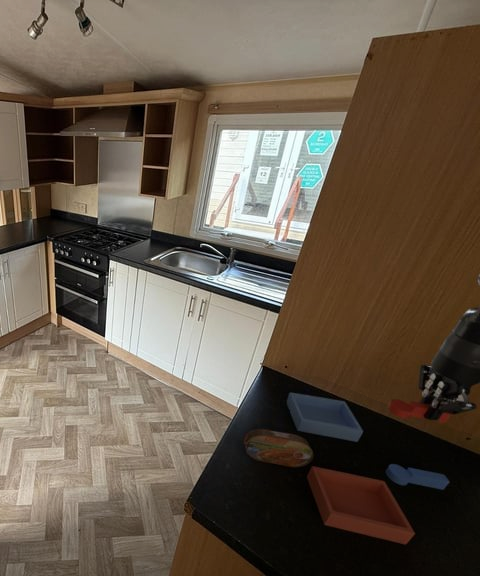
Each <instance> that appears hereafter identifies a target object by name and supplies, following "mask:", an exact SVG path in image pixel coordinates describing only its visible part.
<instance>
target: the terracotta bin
mask: <svg viewBox="0 0 480 576" xmlns="http://www.w3.org/2000/svg"><path fill="white" fill-rule="evenodd" d="M310 467H311V468H310V470H309V472H308V473H307V475H306V478H307V481H308V484H309V487H310V490H311V492H312V496H313V498H314V501H315V503H316V506H317V509H318V512H319V514H320V517H321V520H322V522H323V526H326V527H332V528H336V529H340V530H343V531H348V532H352V533H356V534H360V535H364V536H369V537H373V538H377V539H380V540H385V541H390V542H394V543H397V544H401V545H407V544H408V543H409V542H410V541H411V540H412V538H413V537H414V536H415V535H416V532H415V531H414V529H413V527H412V526H411V524H410V522H409V521H408V519H407V517H406V515H405V514H404V512H403V510H402V508H401V507H400V505H399V503H398V502H397V500H396V499H395V496H394V495H393V493H392V491H391V490H390V487H388V485H387V483H386V481H385V480H380V479H375V478H370V477H367V476H362V475H361V476H360V475H358V474H352V473H348V472H343V471H337V470H332V469H330V468H329V469H328V468H323V467H319V466H313V465H311V466H310Z"/></svg>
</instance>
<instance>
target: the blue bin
mask: <svg viewBox="0 0 480 576" xmlns="http://www.w3.org/2000/svg"><path fill="white" fill-rule="evenodd" d="M286 402H287V403H286V406H287V408H288V410H290V411H289V413H290V416H291V418H292V421H293V424H294V426H295V428H296V431H298V432H302V433H308V434H313V435H319V436H323V437H328V438H329V437H330V438H334V439H339V440H346V441H350V442H356V443H358V442H359V440H360V439H361V436H362V435H363V433H364V430H363V428H362V427H361V425H360V424H359V422H358V420H357V418H356V417H355V415H354V414H353V412H352V410H351V409H350V407H349V405H348V404H347V402H346V401H344V400H339V399H332V398H327V397H320V396H314V395H309V394H303V393H297V392H296V393H295V392H289V393H288V396H287V398H286Z"/></svg>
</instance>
